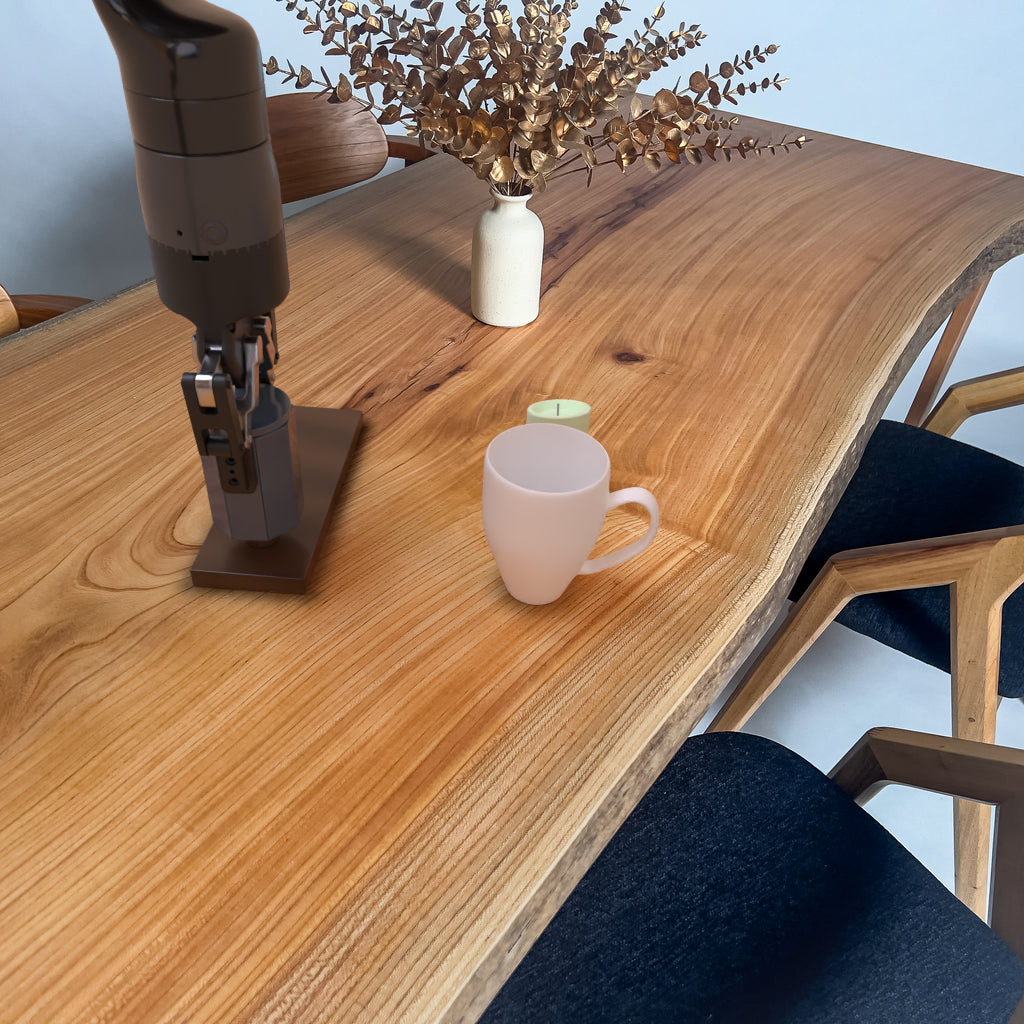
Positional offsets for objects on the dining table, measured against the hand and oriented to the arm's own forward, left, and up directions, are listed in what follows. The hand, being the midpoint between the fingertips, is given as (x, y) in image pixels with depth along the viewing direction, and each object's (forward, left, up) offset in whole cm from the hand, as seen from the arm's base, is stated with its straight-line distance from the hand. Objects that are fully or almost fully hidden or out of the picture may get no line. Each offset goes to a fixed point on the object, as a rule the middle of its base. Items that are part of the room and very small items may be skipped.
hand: (250, 460), depth 61 cm
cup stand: (+5, +5, -8) cm, 11 cm away
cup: (0, 0, -5) cm, 5 cm away
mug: (+13, -17, -9) cm, 24 cm away
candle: (+22, -8, -9) cm, 25 cm away
